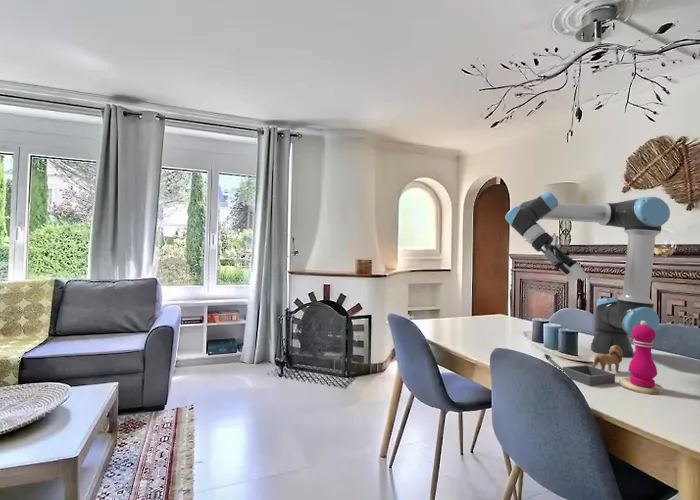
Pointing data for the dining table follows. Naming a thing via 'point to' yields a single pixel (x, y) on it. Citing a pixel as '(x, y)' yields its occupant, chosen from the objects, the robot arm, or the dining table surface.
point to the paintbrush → (552, 361)
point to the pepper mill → (643, 357)
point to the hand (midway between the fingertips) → (581, 279)
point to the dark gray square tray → (595, 374)
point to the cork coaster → (640, 387)
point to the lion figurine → (609, 358)
